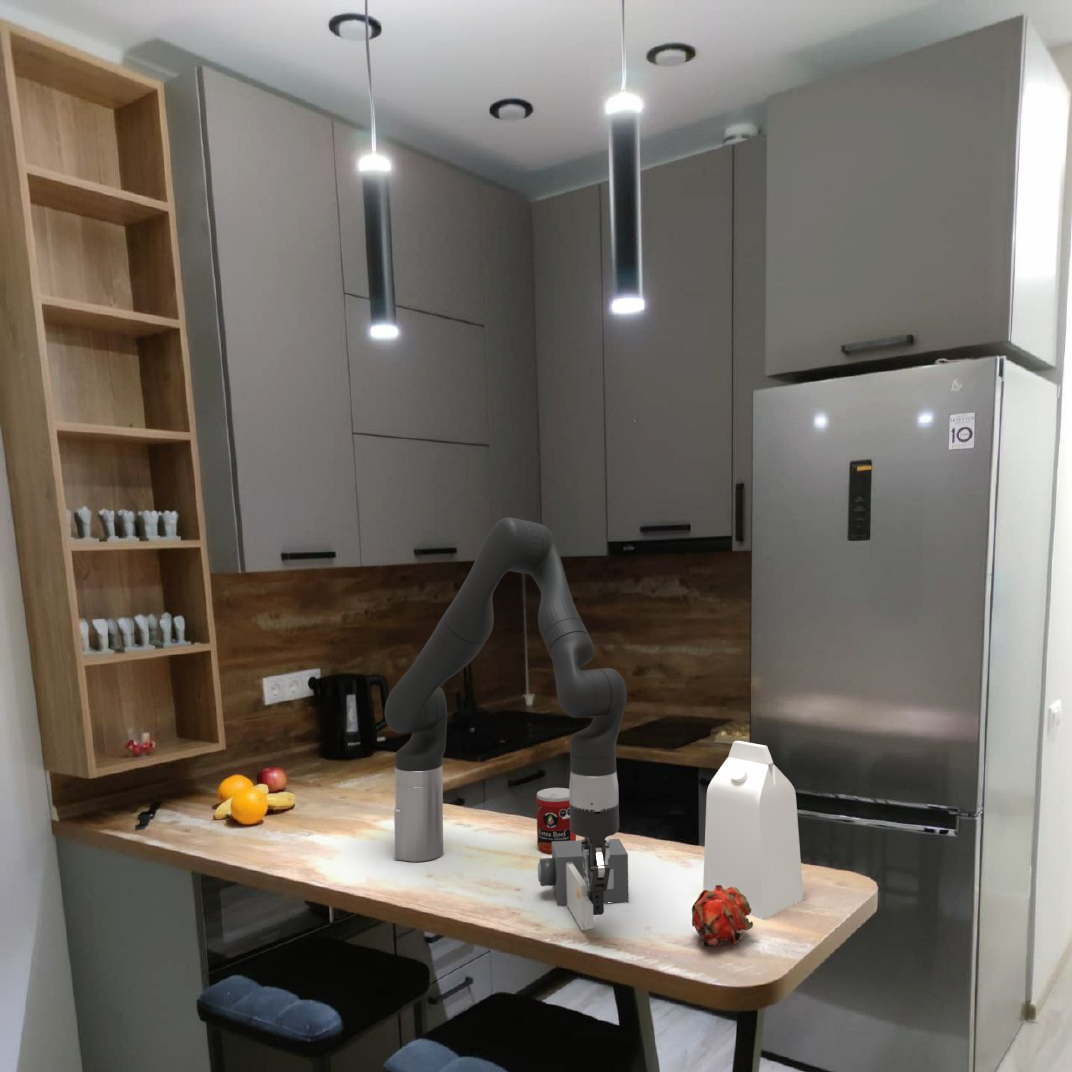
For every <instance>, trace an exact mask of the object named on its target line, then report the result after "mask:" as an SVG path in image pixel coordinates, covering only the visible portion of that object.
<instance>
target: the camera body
mask: <svg viewBox="0 0 1072 1072" xmlns="http://www.w3.org/2000/svg"><path fill="white" fill-rule="evenodd" d="M582 840H583V839H581V840H580V839H579V840H577V839H576V841H554V842H552V855H551V857H546V858H542V857H541V858H539V860H538V863H537V877H538V878H537V879H538V883H539V884H540V887H551V888H552V891H553V895H554V899H555V902H557V903H556V906H557V905H558V907H560V906H559V905H565V906H567V905H566V862H573V865H574V866H575V868H576V869H577V871H578V872H579V874H580V875H581V877H582V878H583V880H584V881H585V883H586V878H585V876H584V869H583V856H582V851H581V841H582ZM605 840H606V842H607V845H609V850H610V857H609V858H608V865H609V867H610V874H609V880H608V886H607V891H603V892H604V903H606V904H609V903H608V902H626V903H629V900H630V899H629V896H630V894H629V854H628V852H627V850H626V848H625V847H624V845H623V843H622V842H621V839H620V838H611V836H608V837H606V838H605ZM587 896H588V888H587Z"/></svg>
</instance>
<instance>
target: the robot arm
mask: <svg viewBox="0 0 1072 1072" xmlns="http://www.w3.org/2000/svg"><path fill="white" fill-rule="evenodd" d="M557 545H558V544H557V543H556V539H555V537H554V534H553V533H552V531H551V530H550V529H549V528H548V527H547V526H545V525H543V524H541V523H538V522H533V521H528V520H524V519H519V518H516V517H504V518H501V519H499V520H498V521H497V522H496V523H495V524H494V526H492V528H491V530H490V531H489V533H488V534H487V535H486V538H485V540H484V542H483V544H482V545H481V548H480V551H479V552H478V554H477V557H476V558H475V561H474V563H473V565H472V566H471V569H470V571H469V573H468V575H467V577H466V578H465V580H464V582H463V584H462V585H461V586H460V588H459V590H458V592H457V594H456V595H455V597H454V598H453V600H452V602H451V603H450V605H449V606H448V608H447V609H446V611H445V613H444V614H443V615H442V616H441V619H440V620H439V622H438V623H437V625H436V627H435V628H434V630H433V632H432V634H431V636H430V637H429V639H428V640H427V642H426V644H424V647H422V649H421V651H420V652H419V653H418V655H417V657H416V659H415V660H414V661H413V663H412V665H411V666H409V667H410V668H408V670H407V671H406V672H405V673H404V674H403V676H402V677H401V678H400V679H399V681H398V682H397V683H396V684H395V686H394V687H393V688H392V690H391V691H390V693H389V694H388V696H387V699H386V700H385V701H386V702H385V706H384V719H385V723H386V725H387V726H388V728H389V729H390V730H391V731H393V732H395V733H397V734H403V735H404V734H411V736H410V739H409V740H408V741H407V742H406V743H405V744H404V745H403V746H401V748H399V749H398V750H397V751H396V752H395V754H394V792H395V795H394V796H395V797H394V798H395V799H394V800H395V802H394V803H395V805H394V806H395V807H394V811H393V814H394V819H393V820H394V860H400V861H405V862H415V863H416V862H427V861H431V860H435V859H439V858H440V857H441V856H442V855H443V854H444V808H443V807H444V798H443V797H444V796H443V793H444V792H443V787H444V786H443V757H444V755H445V752H446V749H447V748H446V745H447V725H448V706H447V698H446V696H445V693H444V691H443V689H442V688H441V686H442V685H443V684H444V683H445V682H447V681H448V680H449V679H451V678H452V677H454V676H455V675H456V674H458V672H460V671H462V670H463V669H464V668H465V667H467V665H469V664H470V663H471V662H472V661H473V660H474V659H475V658H476V657H477V655H478V654H479V653H480V651H481V650H482V648H483V646H484V645H485V644H486V642H487V640H488V639H489V638H490V636H491V634H492V632H493V629H494V620H495V619H494V616H495V615H494V605H493V602H494V601H493V596H494V592H495V590H496V588H497V586H498V584H499V583H500V581H501V580H502V578H503V576H504V575H505V574H506V573H508V572H513V573H519V574H526V575H530V576H531V577H532V579H533V581H534V582H535V583H536V585H537V587H538V588H539V589H538V590H539V591H540V603H539V606H538V607H539V608H538V613H537V624H538V629H539V632H540V635H541V638H542V640H543V643H544V645H545V648H546V650H547V651H548V654H549V657H550V658H551V661H552V667H553V672H554V678H555V685H556V696H557V700H558V701H557V702H558V704H559V706H560V709H562V711H563V712H564V713H565V714H566V715H568V716H569V717H571V718H574V719H581V718H588V717H593V718H592V720H591V723H590V724H589V725H588V726H587V727H585V728H583V729H581V730H579V731H577V732H575V733H573V735H572V736H571V738H570V744H569V745H570V746H569V750H570V751H569V752H570V754H569V755H570V757H569V758H570V775H569V777H570V778H569V786H568V787H569V788H568V789H569V797H570V829H571V831H572V832H573V833H574V834H576V836H578V837H581V838H584V839H581V840H582V841H581V851H582V856H583V869H584V876H585V878H586V885H587V888H588V898H589V900H591V902H592V903H593V916H602V915H604V913H605V906H604V905H605V904H604V892H603V891H607V886H608V880H609V874H610V867H609V865H608V858H609V857H610V850H609V845H607V842H606V840H605V838H606V837H608V836H609V837H612V836H613V835H616V833H618V832H619V829H620V813H619V812H620V811H619V809H620V807H619V805H620V804H619V803H620V802H619V795H620V794H619V782H618V774H617V773H618V772H617V742H618V741H617V740H618V737H619V733H620V730H621V729H620V728H621V724H622V722H623V721H622V720H623V717H624V712H625V709H626V704H627V696H628V695H627V687H626V683H625V680H624V678H623V677H622V674H620V673H619V671H617V670H616V669H614V668H611V667H610V668H609V667H604V668H593V669H585V670H584V669H583V670H581V669H580V668H582V667H584V666H586V665H587V664H589V663H590V662H591V661H592V659H593V657H594V656H595V645H594V643H593V641H592V639H591V636H590V634H589V632H588V630H587V628H586V626H585V624H584V623H583V621H582V618H581V616H580V615H579V612H578V610H577V607H576V605H575V603H574V600H573V598H572V594H571V591H570V587H569V583H568V581H567V580H568V579H567V576H566V572H565V570H564V565H563V562H562V559H561V555H560V552H559V549H558V546H557Z"/></svg>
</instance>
